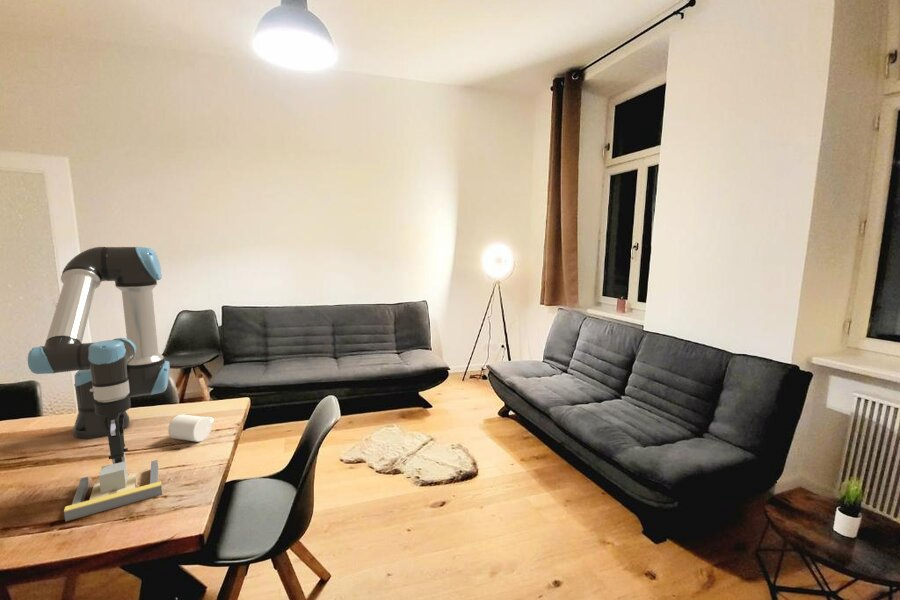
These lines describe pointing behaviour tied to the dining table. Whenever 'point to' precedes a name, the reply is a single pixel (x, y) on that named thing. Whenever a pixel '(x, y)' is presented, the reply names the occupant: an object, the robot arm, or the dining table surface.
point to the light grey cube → (113, 477)
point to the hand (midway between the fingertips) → (120, 476)
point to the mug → (190, 427)
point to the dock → (111, 497)
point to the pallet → (130, 485)
